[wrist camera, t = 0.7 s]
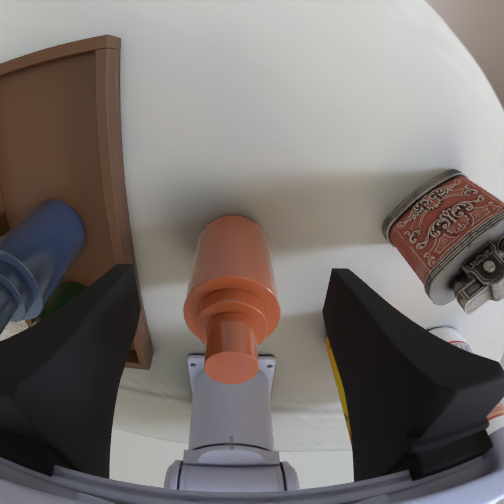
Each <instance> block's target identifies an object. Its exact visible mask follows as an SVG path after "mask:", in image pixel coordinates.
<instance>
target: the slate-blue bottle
mask: <svg viewBox="0 0 504 504" xmlns="http://www.w3.org/2000/svg"><path fill="white" fill-rule="evenodd" d="M85 244H86V231H85V227H84V224H83V222H82V220H81V218H80V216H79V215H78V214H77V212H76V211H75V210H74V209H73V208H72V207H71V206H69V205H68V204H66V203H64V202H62V201H59V200H53V199H50V200H45V201H43V202H41V203H40V204H38V205H37V206H36V207H35V208H34V209H32V210H31V211H30V212H29V213H28V214H26V215H25V216H24V217H23V218H22V219H21V220H20V221H18V222H17V223H16V224H15V225H14V226H13V227H12V228H11V229H10V230H8V231H7V232H6V233H5V234H4V235H3V236H2V237H1V238H0V335H1V333H2V332H3V330H4V329H5V327H6V325H7V324H8V322H9V321H11V322H18V321H21V320H22V319H23V320H31V319H34V318H36V317H37V316H39V315H40V313H41V312H42V310H43V309H44V307H45V305H46V304H47V302H48V301H49V299H50V298H51V296H52V295H53V293H54V292H55V290H56V289H57V287H58V286H59V284H60V283H61V281H62V280H63V278H64V277H65V275H66V274H67V272H68V271H69V269H70V268H71V267H72V265H73V264H74V262H75V261H76V260H77V258H78V257H79V255H80V254H81V253H82V251H83V250H84V247H85Z"/></svg>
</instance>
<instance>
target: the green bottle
mask: <svg viewBox="0 0 504 504" xmlns="http://www.w3.org/2000/svg"><path fill="white" fill-rule="evenodd" d="M87 288H88V287H86V286H84V285H82V284H80V283H76V282H63V283H61V284H59V286H58V287H57V289H56V290H55V292H54V293H53V295H52V296H51V298H50V299H49V301H48V302H47V304H46V305H45V307H44V309H43V310H42V312H41V313H40V315H39V316H37V318H36V319H35V321H34V322H33V324H32V326H33V325H35V324H37V323H39V322H40V321H42V320H44V319H45V318H47V317H48V316H50V315H52V314H53V313H55V312H56V311H58V310H59V309H60V308H62V307H63V306H65V305H66V304H67V303H68V302H70V301H71V300H72V299H74V298H75V297H76V296H78V295H79V294H80V293H82V292H83V291H84V290H85V289H87Z"/></svg>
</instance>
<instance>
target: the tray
mask: <svg viewBox="0 0 504 504" xmlns="http://www.w3.org/2000/svg"><path fill="white" fill-rule="evenodd" d="M50 199H53V200H59V201H62V202H64V203H66V204H68V205H69V206H71V207H72V208H73V209H74V210H75V211H76V212H77V214H78V215H79V216H80V218H81V220H82V222H83V224H84V227H85V231H86V244H85V247H84V250H83V251H82V253H81V254H80V255H79V257H78V258H77V260H76V261H75V262H74V264H73V265H72V267H71V268H70V269H69V271H68V272H67V274H66V275H65V277H64V278H63V280H62V281H61V283H63V282H76V283H80V284H82V285H84V286H86V287H89V286H90V285H91V284H93V283H94V282H95V281H96V280H98V279H99V278H100V277H101V276H102V275H104V274H105V273H106V272H107V271H109V270H110V269H111V268H112V267H114V266H115V265H117V264H133V266H134V272H135V278H136V283H137V289H138V294H139V299H140V304H141V312H140V317H139V322H138V327H137V331H136V334H135V337H134V340H133V343H132V346H131V349H130V352H129V355H128V358H127V361H126V364H125V367H126V368H136V369H146V370H150V366H151V361H152V357H153V349H152V345H151V340H150V336H149V332H148V327H147V323H146V318H145V313H144V308H143V303H142V298H141V293H140V287H139V282H138V276H137V271H136V265H135V258H134V252H133V245H132V239H131V232H130V224H129V216H128V208H127V199H126V190H125V179H124V168H123V155H122V139H121V118H120V38H117V37H114V36H110V35H104V36H98V37H93V38H88V39H84V40H79V41H75V42H70V43H66V44H62V45H58V46H55V47H51V48H47V49H44V50H40V51H37V52H34V53H31V54H28V55H24V56H21V57H18V58H16V59H13V60H10V61H7V62H4V63H2V64H0V238H1V237H2V236H3V235H4V234H5V233H6V232H7V231H8V230H10V229H11V228H12V227H13V226H14V225H15V224H16V223H17V222H18V221H20V220H21V219H22V218H23V217H24V216H25V215H26V214H28V213H29V212H30V211H31V210H32V209H34V208H35V207H36V206H37V205H38V204H40V203H41V202H43V201H45V200H50ZM61 283H60V284H61ZM36 318H37V317H36ZM36 318H34V319H31V320H25V321H26V323H27V325H28V327H31V326H32V324H33V322H34V321H35V319H36Z"/></svg>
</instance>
